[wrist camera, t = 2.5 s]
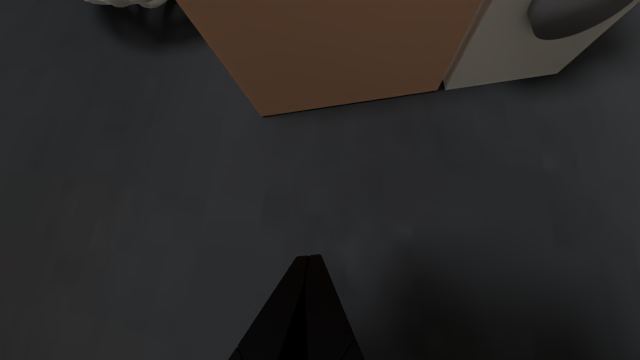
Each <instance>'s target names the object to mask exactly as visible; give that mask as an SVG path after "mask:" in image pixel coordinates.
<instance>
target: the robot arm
mask: <svg viewBox="0 0 640 360" xmlns="http://www.w3.org/2000/svg"><path fill="white" fill-rule="evenodd" d="M228 360H364V357H363V355H362V353H361V351H360V348H359V346H358V343H357V341H356V339H355V336H354V334H353V331H352V329H351V326H350V324H349V322H348V319H347V317H346V314H345V312H344V309H343V307H342V305H341V302H340V300H339V297H338V295H337V292H336V290H335V287H334V285H333V283H332V280H331V278H330V275H329V273H328V270H327V268H326V266H325V263H324V261H323V258H322V256H321V255H320V254H317V255H310V256H298V257H296V258H295V260H294V261H293V263H292V264H291V266H290V267H289V269H288V270H287V272H286V273H285V275H284V276H283V278H282V279H281V281H280V282H279V284H278V285H277V287H276V288H275V290H274V291H273V293H272V294H271V296H270V298H269V299H268V301H267V302H266V304H265V305H264V307H263V308H262V310H261V311H260V313H259V314H258V316H257V317H256V319H255V320H254V322H253V323H252V325H251V326H250V328H249V329H248V331H247V332H246V334H245V335H244V337H243V338H242V340H241V341H240V343H239V344H238V347H237V348H236V349H235V350H234V352H233V353H232V355H231V356H230V358H229V359H228Z"/></svg>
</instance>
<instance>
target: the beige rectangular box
mask: <svg viewBox="0 0 640 360" xmlns="http://www.w3.org/2000/svg"><path fill="white" fill-rule="evenodd" d="M639 1H640V0H482V1H481V3H480V5H479V7H478V9H477V11H476V13H475V15H474V17H473V19H472V21H471V23H470V25H469V27H468V29H467V31H466V33H465V35H464V37H463V39H462V41H461V44H460V46H459V48H458V50H457V52H456V54H455V56H454V58H453V60H452V62H451V64H450V66H449V68H448V70H447V72H446V74H445V76H444V78H443V82H444V87H445V90H450V89H457V88H464V87H470V86H477V85H484V84H491V83H497V82H504V81H511V80H517V79H524V78H531V77H537V76H544V75H551V74H557V73H558V72H559V71H561V70H562V69H563V68H564V67H565V66H566V65H567V64H568V63H570V62H571V61H572V60H573V59H574V58H575V57H576V56H578V55H579V54H580V53H581V52H582V51H583V50H584V49H586V48H587V47H588V46H589V45H590V44H591V43H592V42H593V41H595V40H596V39H597V38H598V37H599V36H600V35H601V34H603V33H604V32H605V31H606V30H607V29H608V28H609V27H611V26H612V25H613V24H614V23H615V22H616V21H617V20H618V19H620V18H621V17H622V16H623V15H624V14H625V13H626V12H628V11H629V10H630V9H631V8H632V7H633V6H634V5H635V4H637V3H638V2H639Z"/></svg>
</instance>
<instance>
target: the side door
mask: <svg viewBox="0 0 640 360" xmlns="http://www.w3.org/2000/svg"><path fill="white" fill-rule="evenodd" d="M176 1H177V3H178V4H179V6H180V7H181V8H182V10H183V11H184V12H185V14H186V15H187V16H188V18H189V19H190V20H191V22H192V23H193V24H194V26H195V27H196V29H197V30H198V31H199V33H200V34H201V35H202V37H203V38H204V39H205V41H206V42H207V43H208V45H209V46H210V48H211V49H212V50H213V52H214V53H215V54H216V56H217V57H218V58H219V60H220V61H221V62H222V64H223V65H224V66H225V68H226V69H227V71H228V72H229V73H230V75H231V76H232V77H233V79H234V80H235V81H236V83H237V84H238V85H239V87H240V88H241V90H242V91H243V92H244V94H245V95H246V96H247V98H248V99H249V100H250V102H251V103H252V104H253V106H254V107H255V108H256V110H257V111H258V113H259V114H260V115H261V117H262V116H269V115H275V114H282V113H289V112H295V111H302V110H309V109H315V108H322V107H329V106H335V105H342V104H349V103H356V102H362V101H369V100H376V99H382V98H389V97H396V96H402V95H409V94H416V93H422V92H429V91H436V90H438V88H439V86H440V84H441V82H442V80H443V78H444V76H445V74H446V72H447V70H448V68H449V66H450V64H451V62H452V60H453V58H454V56H455V54H456V52H457V50H458V48H459V46H460V44H461V41H462V39H463V37H464V35H465V33H466V31H467V29H468V27H469V25H470V23H471V21H472V19H473V17H474V15H475V13H476V11H477V9H478V7H479V5H480V3H481V1H482V0H176Z"/></svg>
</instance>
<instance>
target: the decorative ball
mask: <svg viewBox="0 0 640 360" xmlns="http://www.w3.org/2000/svg"><path fill="white" fill-rule="evenodd" d="M84 1H87V2H90V3H93V4H101V5H113V6H115V7H125V6H128V5H131V4H140V5H141V6H142V7H145V8H156V7H159V6H161V5H162V4H164V3H165V2H166V1H167V0H152V1H150V0H84ZM147 1H149V2H147Z"/></svg>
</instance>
